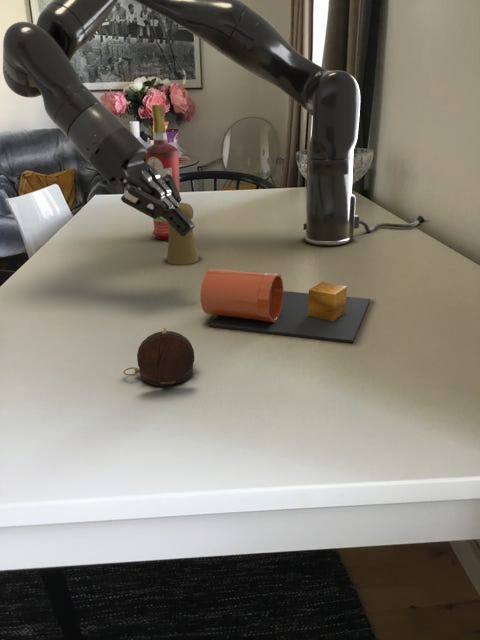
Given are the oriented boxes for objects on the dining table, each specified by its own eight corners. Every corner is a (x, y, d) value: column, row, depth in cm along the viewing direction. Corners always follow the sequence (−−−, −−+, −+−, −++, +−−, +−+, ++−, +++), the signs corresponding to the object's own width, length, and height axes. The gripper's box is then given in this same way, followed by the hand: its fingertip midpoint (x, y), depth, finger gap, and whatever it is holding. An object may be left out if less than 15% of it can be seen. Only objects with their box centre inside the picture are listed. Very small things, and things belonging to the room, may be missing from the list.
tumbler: (214, 259, 82) (280, 264, 78) (222, 295, 86) (285, 302, 82) (196, 286, 77) (265, 293, 74) (205, 324, 81) (271, 332, 78)
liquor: (145, 240, 126) (133, 105, 115) (162, 232, 132) (151, 104, 121) (175, 242, 123) (164, 105, 112) (190, 234, 129) (181, 103, 119)
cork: (193, 265, 107) (189, 206, 103) (163, 264, 108) (158, 206, 104) (202, 256, 112) (198, 200, 108) (172, 255, 114) (168, 200, 109)
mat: (209, 326, 79) (208, 324, 79) (246, 290, 93) (246, 287, 93) (352, 343, 73) (352, 340, 72) (369, 301, 86) (370, 298, 86)
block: (321, 281, 82) (321, 307, 84) (308, 289, 79) (308, 316, 81) (347, 286, 80) (345, 312, 81) (334, 294, 77) (333, 321, 78)
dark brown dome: (190, 360, 69) (186, 304, 67) (197, 391, 62) (193, 330, 59) (124, 366, 68) (117, 310, 66) (123, 399, 61) (115, 337, 58)
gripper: (117, 158, 90) (192, 237, 91) (68, 169, 79) (154, 260, 80) (144, 122, 87) (221, 205, 87) (95, 129, 75) (185, 224, 76)
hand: (189, 231), depth 83 cm, fingers closed
